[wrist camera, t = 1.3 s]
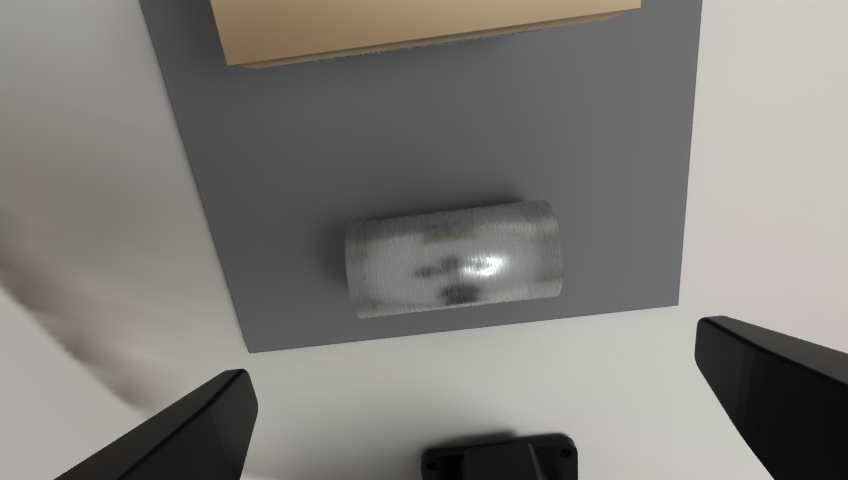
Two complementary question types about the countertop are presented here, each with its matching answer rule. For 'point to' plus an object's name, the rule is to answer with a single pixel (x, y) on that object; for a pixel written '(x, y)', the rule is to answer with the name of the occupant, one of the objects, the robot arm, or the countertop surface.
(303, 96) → the rubber mat
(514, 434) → the countertop surface
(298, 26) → the oak slab
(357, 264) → the loose steel roller
